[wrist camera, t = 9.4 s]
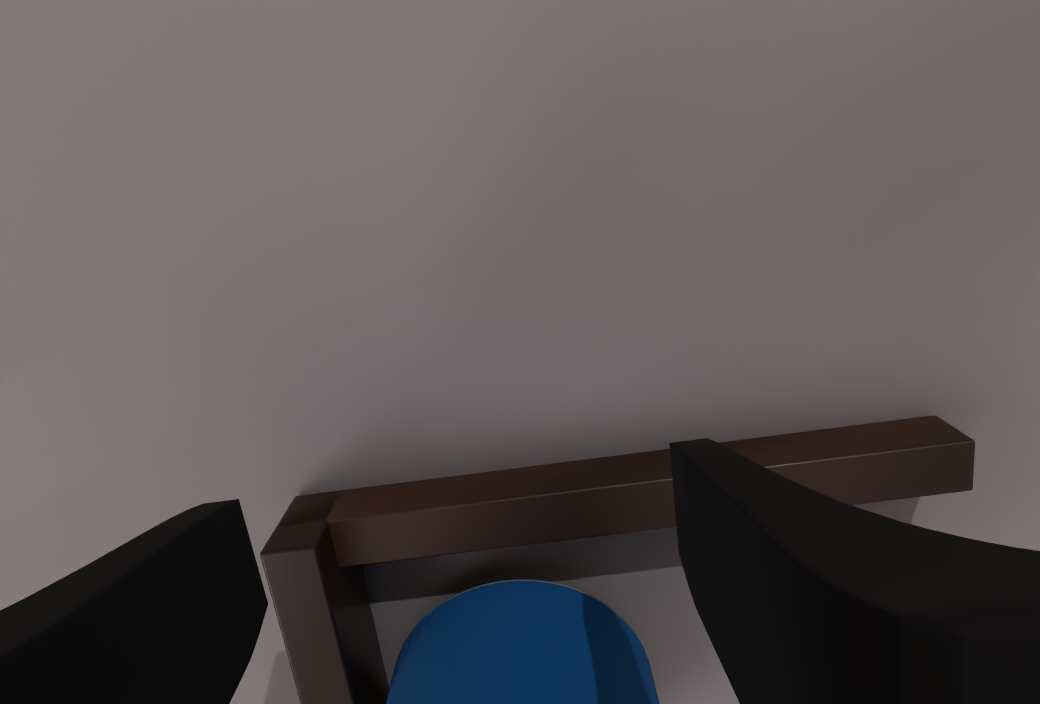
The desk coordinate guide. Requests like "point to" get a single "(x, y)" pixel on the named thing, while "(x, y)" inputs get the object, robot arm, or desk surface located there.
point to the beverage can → (522, 650)
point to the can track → (542, 526)
